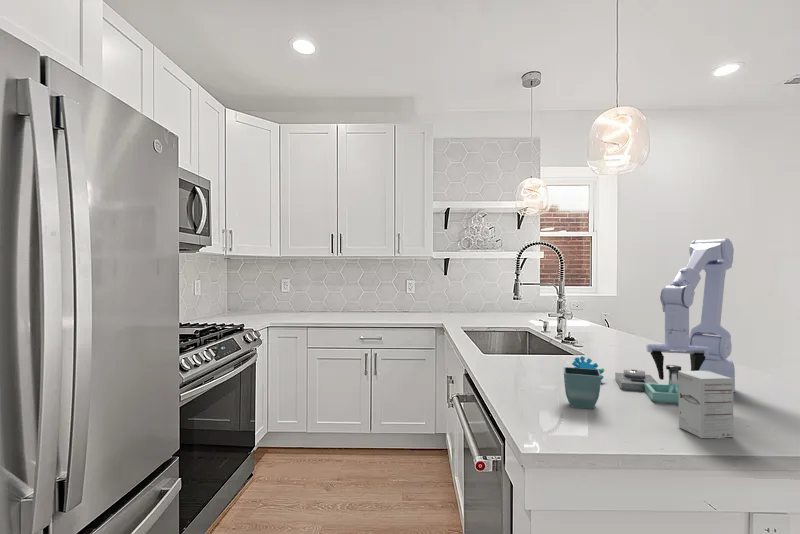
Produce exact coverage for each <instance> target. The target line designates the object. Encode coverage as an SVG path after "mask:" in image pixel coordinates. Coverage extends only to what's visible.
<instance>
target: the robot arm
mask: <svg viewBox="0 0 800 534" xmlns="http://www.w3.org/2000/svg"><path fill="white" fill-rule="evenodd" d="M734 249H735V248H734V245H733V242H732V241H731V240H730V239H729V238H727V237H726V238H717V239H716V238H715V239H693V240H692V241H691V242H690V244H689V250H688V251H689V260H688V262H687V264H686V266H685V267H683V268H680V269H679V270H678V272H677V273H676V275H675V276H674V278H673V280H672V281H671V282H670V284H669V285H666V286H665V287H663V288H662V289H661V291H660V296H659V298H660V299H659V301H660V302H661V303H660V304H661V307H662V308H661V309H662V312H663V313H664V343H661V344H659V343H656V344H654V343H653V344H649V343H646V352H647V353H649V354H650V356H651V357H652V360H653V361H654V364H655V366H656V370H657V374H658V378H659V379H660V380H664V379H665V375H664V362H665V361H664V359H665V356H664V354H663V353H666V354H667V353H668V354H688V355H689V356H690V357H689V358H690V371H710V372H713V373H716V374H720V375H723V376H726V377H729V378H733V393H734V392H735V393H736V392H737V390H736V384H735V383H736V379H735V377H736V374H735V373H736V371H735V364H734V361H733V360H732V359H730V358H729V357H730V356H731V354H732V348H733V347H732V338H731V337H732V336H731V333H730V332H729V331H728V330H727V329H725V327H723V326H722V325H721V322H722V310H723V301H724V290H725V280H726V271H727V270H729V269H731V268H733V267H732V266H733V262H734V254H735V252H734V251H735V250H734ZM702 270H703V271H704V272H705V279H704V286H703V287H704V288H703V298H702V308H701V315H700V316H701V317H700V323H699V324H696V325H695V326H694V327H692V328H691V329H690V307H691V306H692V305H693V304H694V297H695V294H696V292H695V289H696V288H697V286H698V285H699V283H700V282H701V279H702V278H701V274H700V273H701V272H702Z"/></svg>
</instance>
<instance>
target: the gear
mask: <svg viewBox="0 0 800 534" xmlns="http://www.w3.org/2000/svg"><path fill="white" fill-rule="evenodd" d="M585 359H586V357H585V356H580V357H575V358H574V361H573V362H572V363H571V364H572V366H573V368H585V369H598V370H599V372H600V374H601V381H602V380H603V379H604V376H603V375H602V374H603V373H604V372H605V368H601V369H600V368H598V367H599V365H598V363H597V362H595V363H592V362H593V361H592V358H587V359H586V361H585ZM591 363H592V364H591Z"/></svg>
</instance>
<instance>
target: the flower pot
mask: <svg viewBox="0 0 800 534" xmlns="http://www.w3.org/2000/svg"><path fill="white" fill-rule="evenodd" d="M598 369H599V368H596V369H585V368H574V367H569V366H565V367H563V378H564V379H563V381H564V390H565V391H564V392H565V396H566V399H567V400H568V401H567V402H568V403H569V406H570V407H571V408H577V409H578V408H579V409H588V410H592V409H594V407H595V406H596V404H597V402H598V400H599V397H600V392H601V383H602V380H601V375H602V374H600V372H599V370H598Z"/></svg>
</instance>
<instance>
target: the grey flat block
mask: <svg viewBox="0 0 800 534" xmlns="http://www.w3.org/2000/svg"><path fill="white" fill-rule="evenodd" d="M614 374H615V376H614V378H615V381H616V383H617V384H618V386H619V387H620V390H621V389H623V390H622V391H634V390H636V391H637V392H645V383H653V384H659V382H658V381H657V380H656V379H654V377H653V376H652V375H651V374H646V371H644V370H641V369H636V368H635V369H633V368H627V369H626V368H625V369H624V370H623V372H615V373H614ZM636 391H635V392H636Z"/></svg>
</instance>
